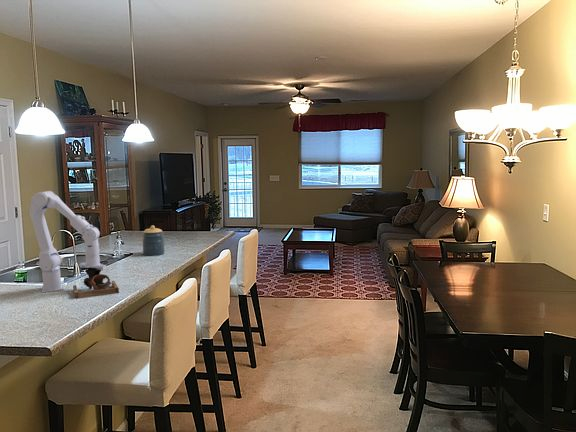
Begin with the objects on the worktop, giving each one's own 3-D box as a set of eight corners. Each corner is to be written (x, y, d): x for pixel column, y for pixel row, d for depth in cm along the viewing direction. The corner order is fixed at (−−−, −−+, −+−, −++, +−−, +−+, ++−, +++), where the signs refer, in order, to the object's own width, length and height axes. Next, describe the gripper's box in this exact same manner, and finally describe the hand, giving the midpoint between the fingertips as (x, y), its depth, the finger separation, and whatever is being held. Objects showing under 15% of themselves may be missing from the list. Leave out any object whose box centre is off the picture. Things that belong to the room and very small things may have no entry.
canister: (159, 256, 290) (158, 227, 288) (139, 255, 292) (137, 226, 290) (168, 252, 303) (167, 224, 301) (148, 251, 305) (147, 223, 303)
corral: (73, 290, 217) (73, 285, 216) (114, 285, 224) (114, 280, 224) (75, 298, 204) (75, 293, 204) (118, 292, 212) (118, 287, 212)
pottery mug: (113, 287, 221) (114, 274, 217) (106, 302, 214) (107, 288, 209) (86, 282, 220) (86, 268, 215) (78, 297, 212) (78, 283, 208)
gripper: (73, 254, 218) (75, 284, 219) (96, 257, 211) (98, 288, 213) (86, 252, 224) (88, 281, 225) (109, 254, 217) (111, 284, 219)
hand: (94, 284), depth 219 cm, fingers closed
